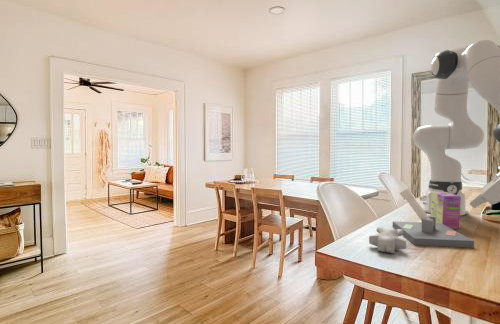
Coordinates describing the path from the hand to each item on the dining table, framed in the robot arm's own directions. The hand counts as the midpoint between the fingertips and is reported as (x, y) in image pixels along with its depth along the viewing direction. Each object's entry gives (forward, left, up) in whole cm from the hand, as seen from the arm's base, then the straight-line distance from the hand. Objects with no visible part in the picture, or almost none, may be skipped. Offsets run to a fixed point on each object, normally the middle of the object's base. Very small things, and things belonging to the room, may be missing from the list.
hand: (471, 205), depth 87 cm
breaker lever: (-5, -9, -9) cm, 13 cm away
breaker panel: (-6, -9, -11) cm, 16 cm away
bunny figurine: (+7, -26, -12) cm, 29 cm away
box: (-22, +3, -12) cm, 25 cm away
